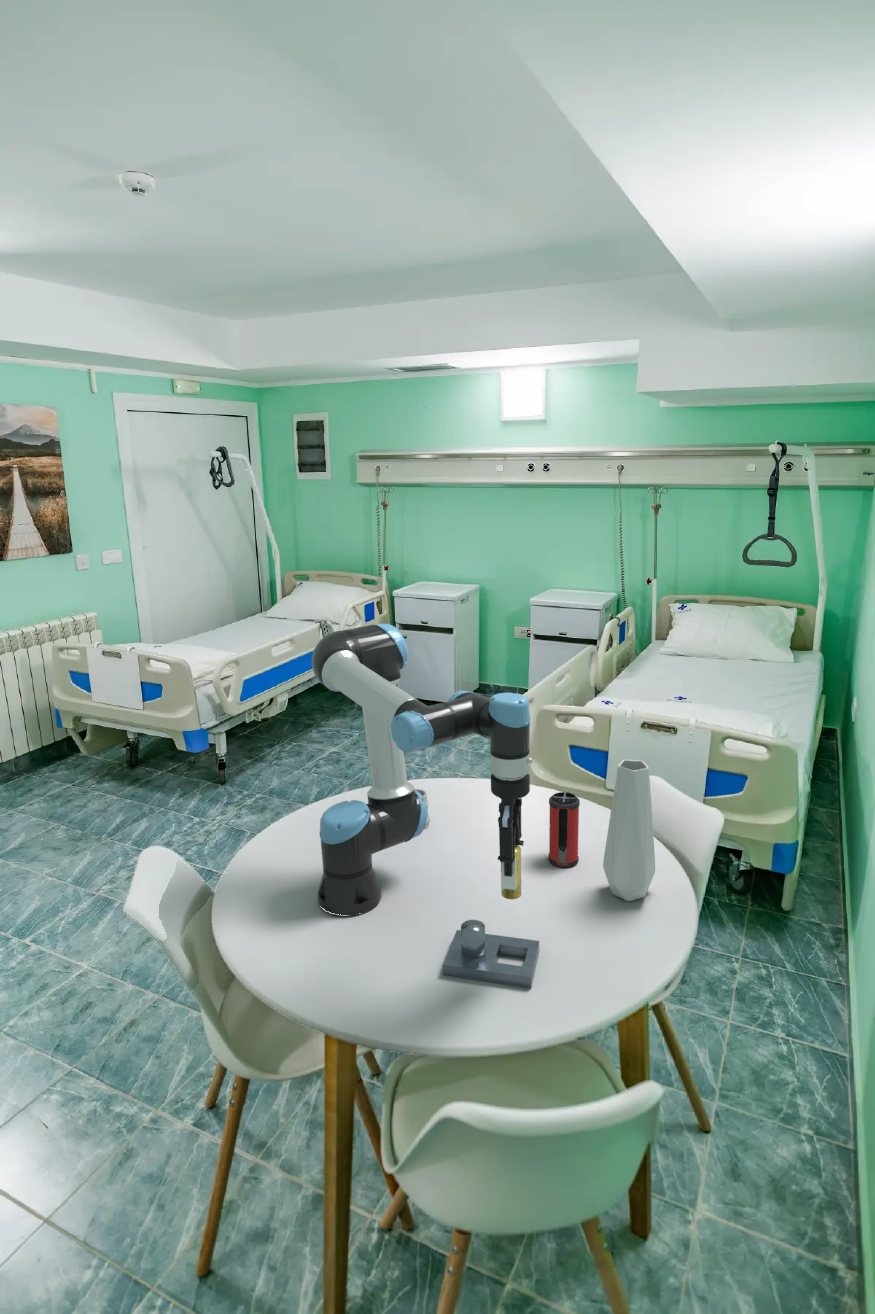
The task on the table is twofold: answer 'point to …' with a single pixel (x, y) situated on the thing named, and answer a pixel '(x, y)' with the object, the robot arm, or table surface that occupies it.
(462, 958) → the gray peg plate
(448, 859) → the table surface
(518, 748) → the robot arm
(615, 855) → the vase
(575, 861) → the speaker
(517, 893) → the round pin
